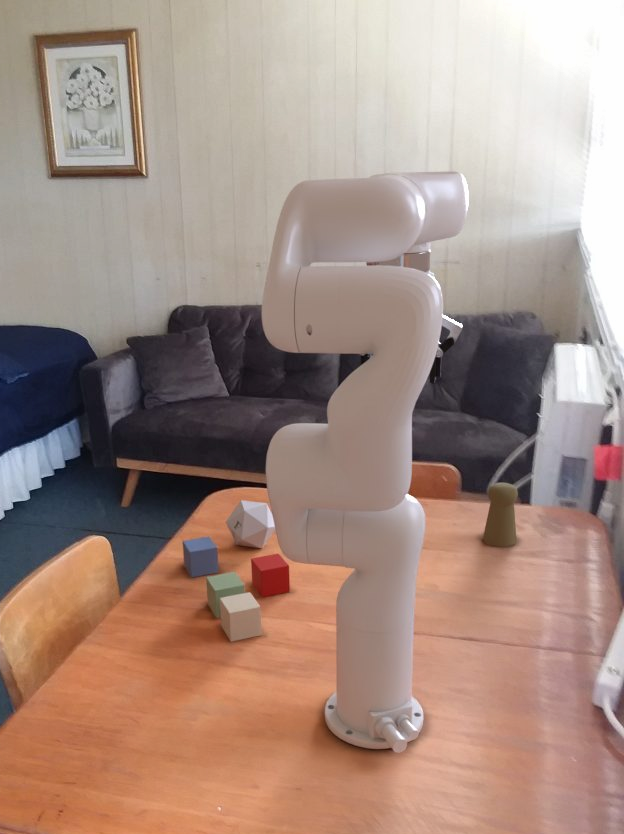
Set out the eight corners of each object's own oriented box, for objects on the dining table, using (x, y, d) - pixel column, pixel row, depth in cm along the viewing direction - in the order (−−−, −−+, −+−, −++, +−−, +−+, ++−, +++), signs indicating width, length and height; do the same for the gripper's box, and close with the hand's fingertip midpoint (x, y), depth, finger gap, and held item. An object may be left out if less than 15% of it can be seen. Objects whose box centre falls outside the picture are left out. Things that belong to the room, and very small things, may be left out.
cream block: (261, 635, 129) (260, 606, 127) (230, 642, 127) (229, 613, 126) (251, 619, 133) (249, 591, 131) (221, 626, 132) (219, 597, 130)
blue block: (218, 572, 149) (217, 547, 147) (191, 577, 147) (189, 552, 146) (210, 560, 153) (209, 536, 152) (184, 565, 152) (182, 540, 150)
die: (227, 537, 164) (212, 512, 156) (262, 509, 166) (249, 482, 158) (253, 565, 159) (239, 540, 151) (289, 535, 161) (277, 509, 153)
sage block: (246, 612, 135) (244, 584, 134) (216, 618, 134) (214, 590, 132) (236, 598, 140) (235, 571, 138) (207, 604, 138) (205, 577, 137)
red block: (289, 592, 141) (289, 565, 139) (261, 597, 140) (260, 570, 138) (279, 579, 146) (278, 553, 144) (252, 584, 144) (250, 558, 142)
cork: (482, 545, 155) (485, 489, 151) (483, 531, 160) (486, 478, 156) (516, 548, 153) (521, 492, 149) (516, 534, 158) (520, 480, 155)
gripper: (338, 268, 119) (338, 385, 125) (464, 267, 114) (458, 389, 120) (347, 261, 126) (347, 372, 132) (466, 260, 121) (460, 375, 127)
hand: (400, 380), depth 126 cm, fingers open, 9 cm apart
